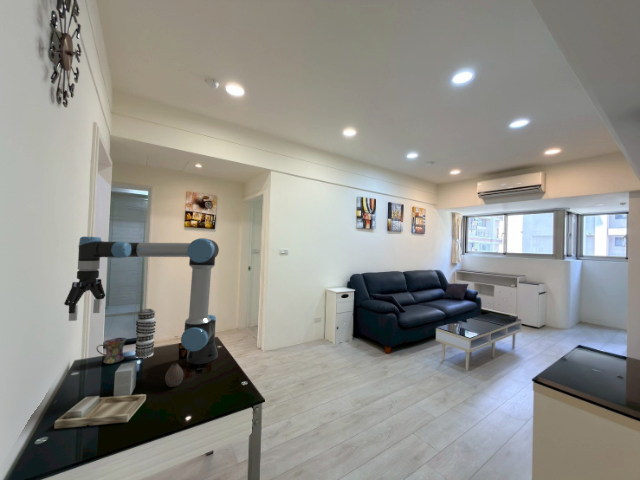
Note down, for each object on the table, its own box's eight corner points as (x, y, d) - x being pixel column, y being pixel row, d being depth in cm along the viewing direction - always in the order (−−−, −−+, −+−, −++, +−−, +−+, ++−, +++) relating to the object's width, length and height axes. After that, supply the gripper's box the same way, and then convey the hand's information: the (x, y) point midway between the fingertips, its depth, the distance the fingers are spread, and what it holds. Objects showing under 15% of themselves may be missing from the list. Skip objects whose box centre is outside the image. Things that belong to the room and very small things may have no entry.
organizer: (145, 399, 99) (146, 389, 99) (127, 421, 86) (127, 410, 86) (83, 404, 95) (84, 394, 95) (54, 428, 82) (55, 416, 82)
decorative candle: (129, 357, 137) (132, 310, 138) (146, 351, 146) (149, 307, 147) (141, 360, 134) (144, 312, 135) (158, 353, 142) (160, 308, 144)
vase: (185, 384, 111) (186, 364, 111) (167, 390, 106) (168, 369, 106) (179, 379, 115) (180, 359, 116) (162, 384, 110) (163, 364, 111)
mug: (126, 356, 138) (127, 336, 139) (123, 362, 130) (124, 341, 131) (97, 360, 132) (99, 339, 133) (93, 367, 124) (94, 345, 125)
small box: (119, 389, 106) (121, 363, 106) (135, 386, 108) (137, 361, 109) (112, 399, 98) (114, 372, 99) (130, 397, 101) (131, 369, 101)
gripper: (99, 268, 129) (97, 310, 128) (54, 272, 104) (50, 324, 103) (115, 268, 130) (113, 310, 129) (74, 272, 105) (71, 324, 104)
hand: (85, 316), depth 116 cm, fingers open, 13 cm apart
